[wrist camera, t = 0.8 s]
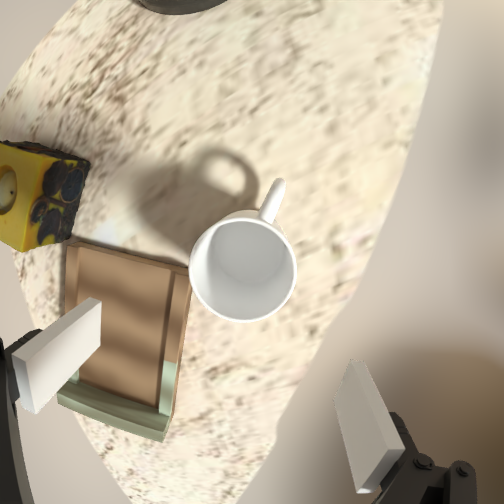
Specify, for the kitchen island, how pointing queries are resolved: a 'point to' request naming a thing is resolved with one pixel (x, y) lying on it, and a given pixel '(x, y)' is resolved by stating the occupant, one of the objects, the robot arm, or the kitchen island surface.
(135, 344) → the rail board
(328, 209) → the kitchen island surface
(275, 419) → the kitchen island surface
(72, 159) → the candle
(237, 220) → the cup
